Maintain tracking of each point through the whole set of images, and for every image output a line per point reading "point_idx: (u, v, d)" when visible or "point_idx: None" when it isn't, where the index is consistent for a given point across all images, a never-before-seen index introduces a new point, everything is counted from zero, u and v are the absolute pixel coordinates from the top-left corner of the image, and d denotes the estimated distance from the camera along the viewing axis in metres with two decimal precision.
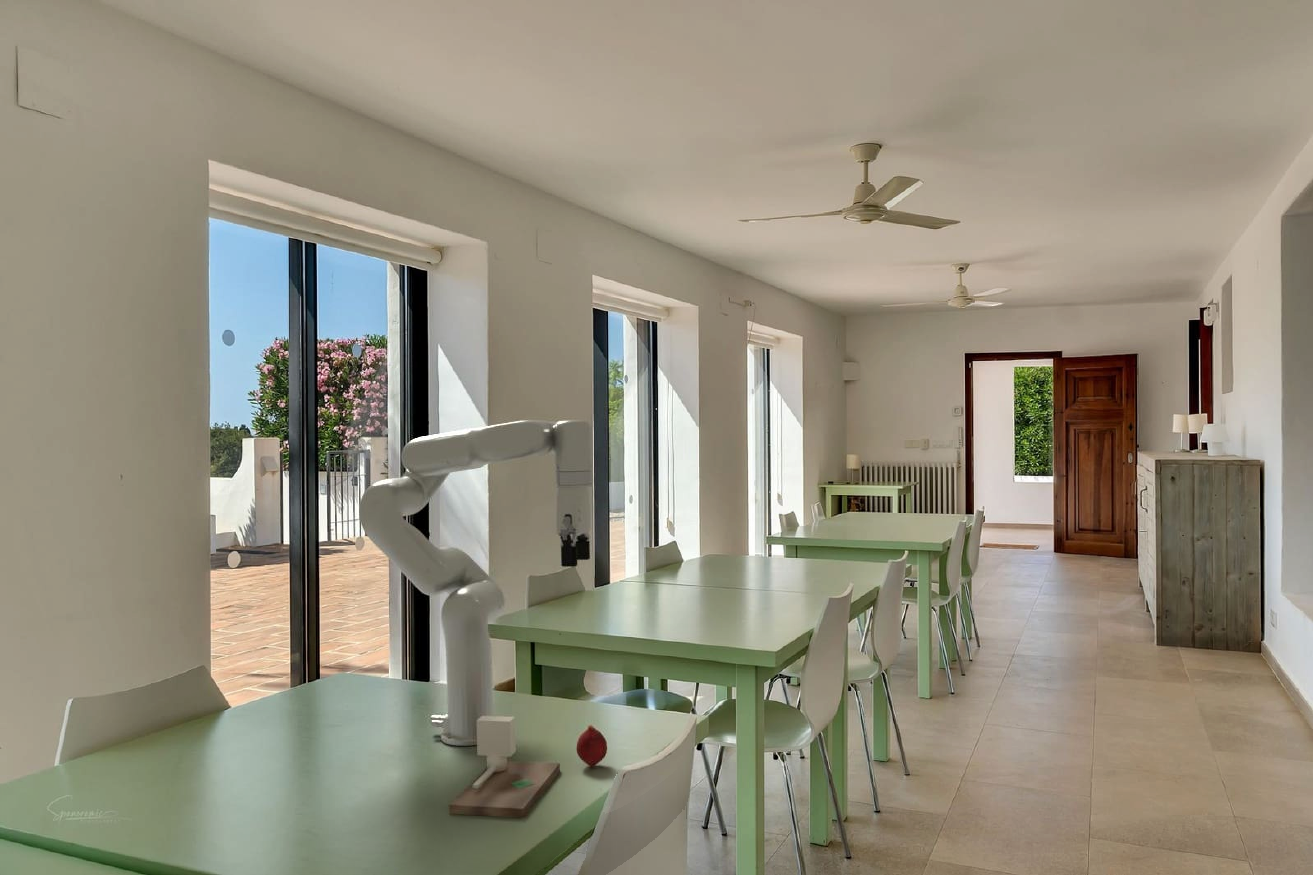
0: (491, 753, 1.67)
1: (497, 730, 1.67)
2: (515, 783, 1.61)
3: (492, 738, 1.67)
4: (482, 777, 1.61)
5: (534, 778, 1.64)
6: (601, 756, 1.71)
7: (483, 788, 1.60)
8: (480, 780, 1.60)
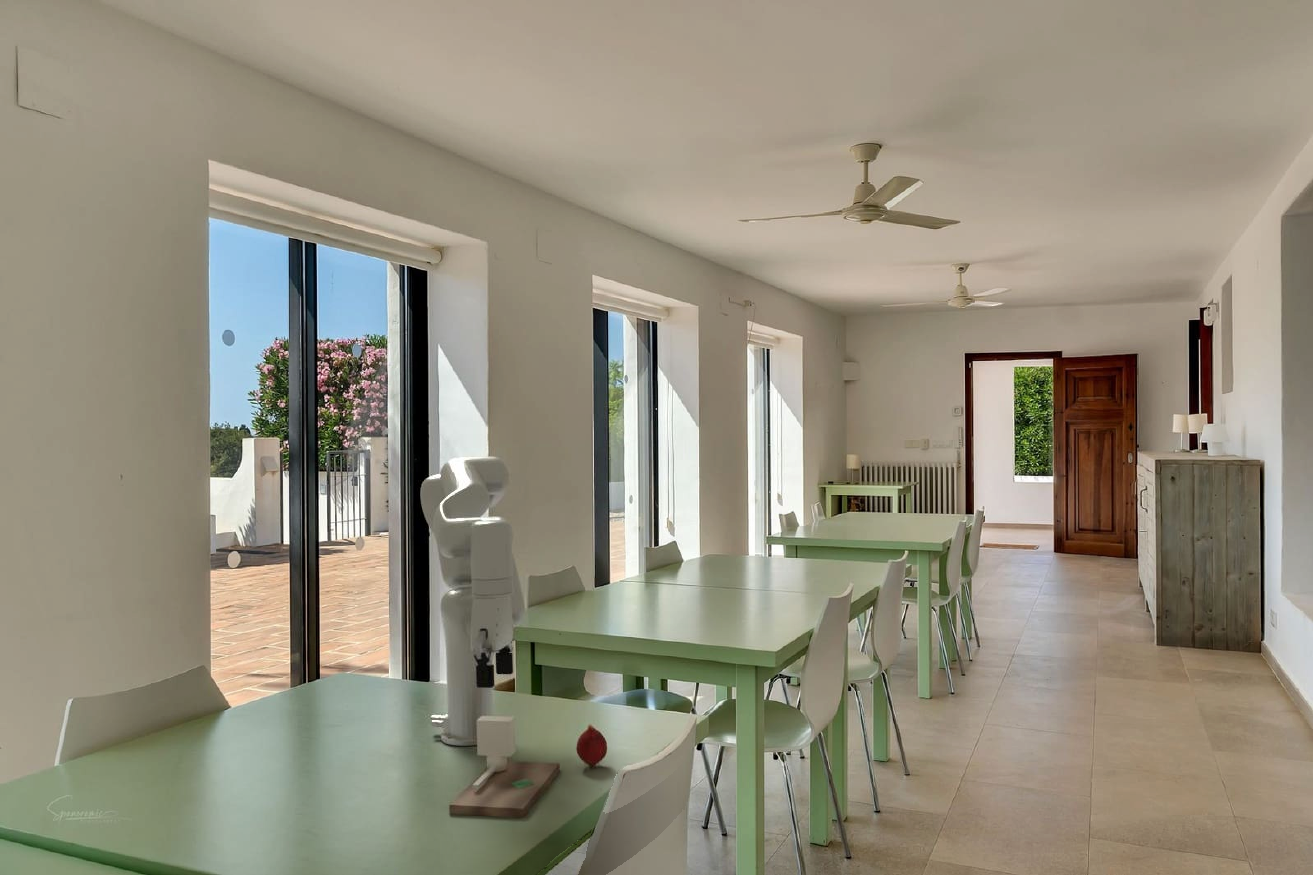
0: (491, 753, 1.67)
1: (497, 730, 1.67)
2: (515, 783, 1.61)
3: (492, 738, 1.67)
4: (482, 777, 1.61)
5: (534, 778, 1.64)
6: (601, 756, 1.71)
7: (483, 788, 1.60)
8: (480, 780, 1.60)
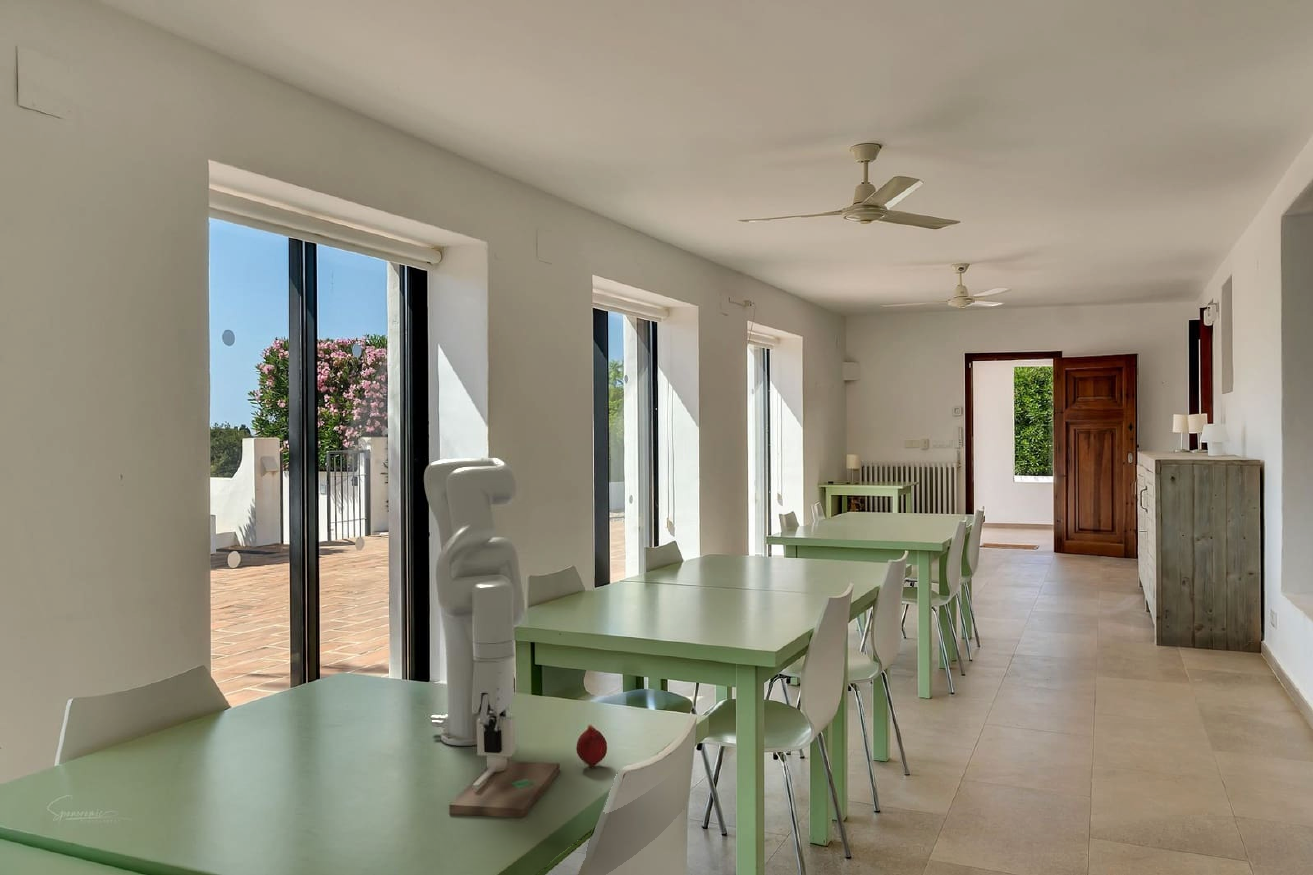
0: (491, 753, 1.67)
1: None
2: (515, 783, 1.61)
3: None
4: (482, 777, 1.61)
5: (534, 778, 1.64)
6: (601, 756, 1.71)
7: (483, 788, 1.60)
8: (480, 780, 1.60)
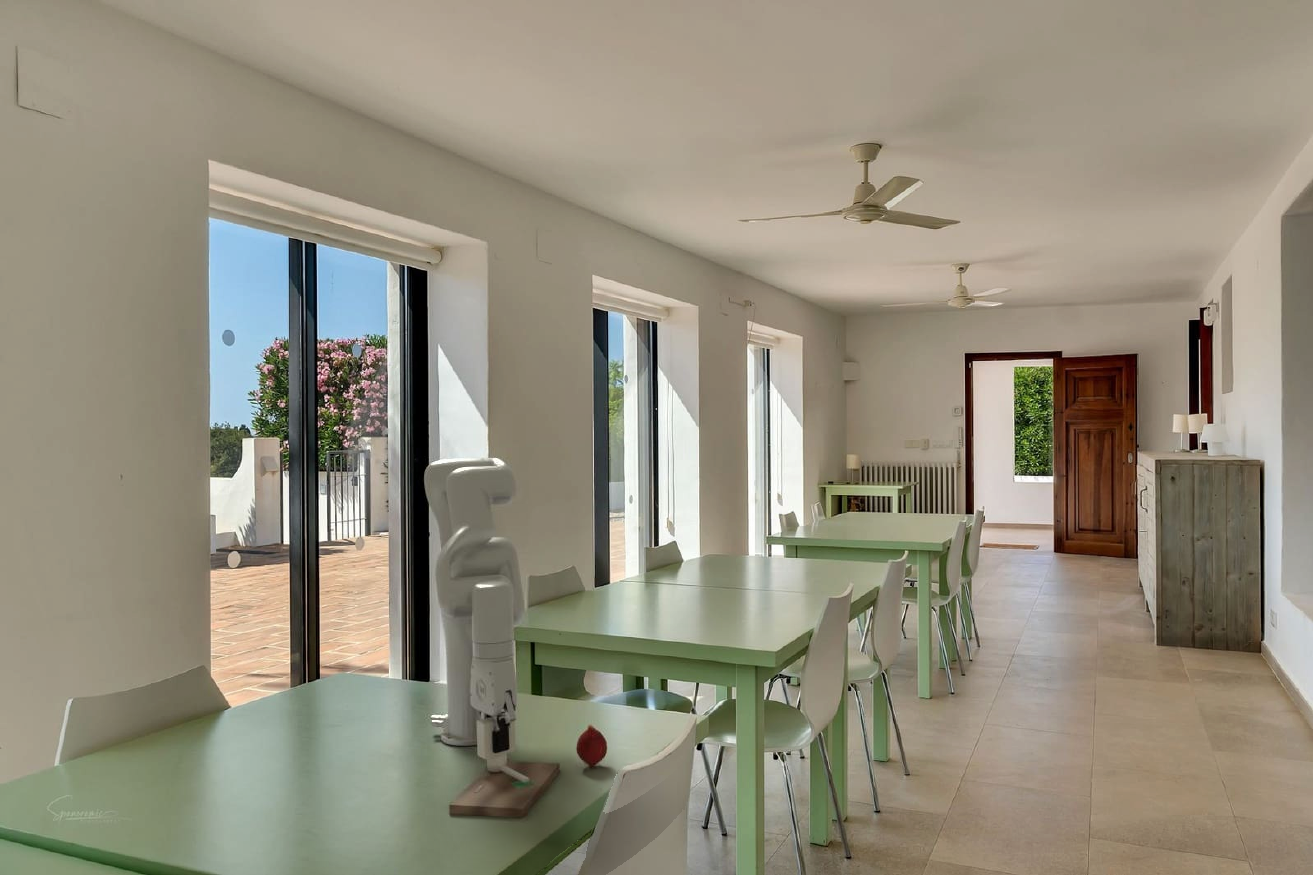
0: (498, 753, 1.67)
1: None
2: (515, 783, 1.61)
3: None
4: (516, 773, 1.63)
5: (534, 778, 1.64)
6: (601, 756, 1.71)
7: (483, 788, 1.60)
8: (521, 775, 1.62)
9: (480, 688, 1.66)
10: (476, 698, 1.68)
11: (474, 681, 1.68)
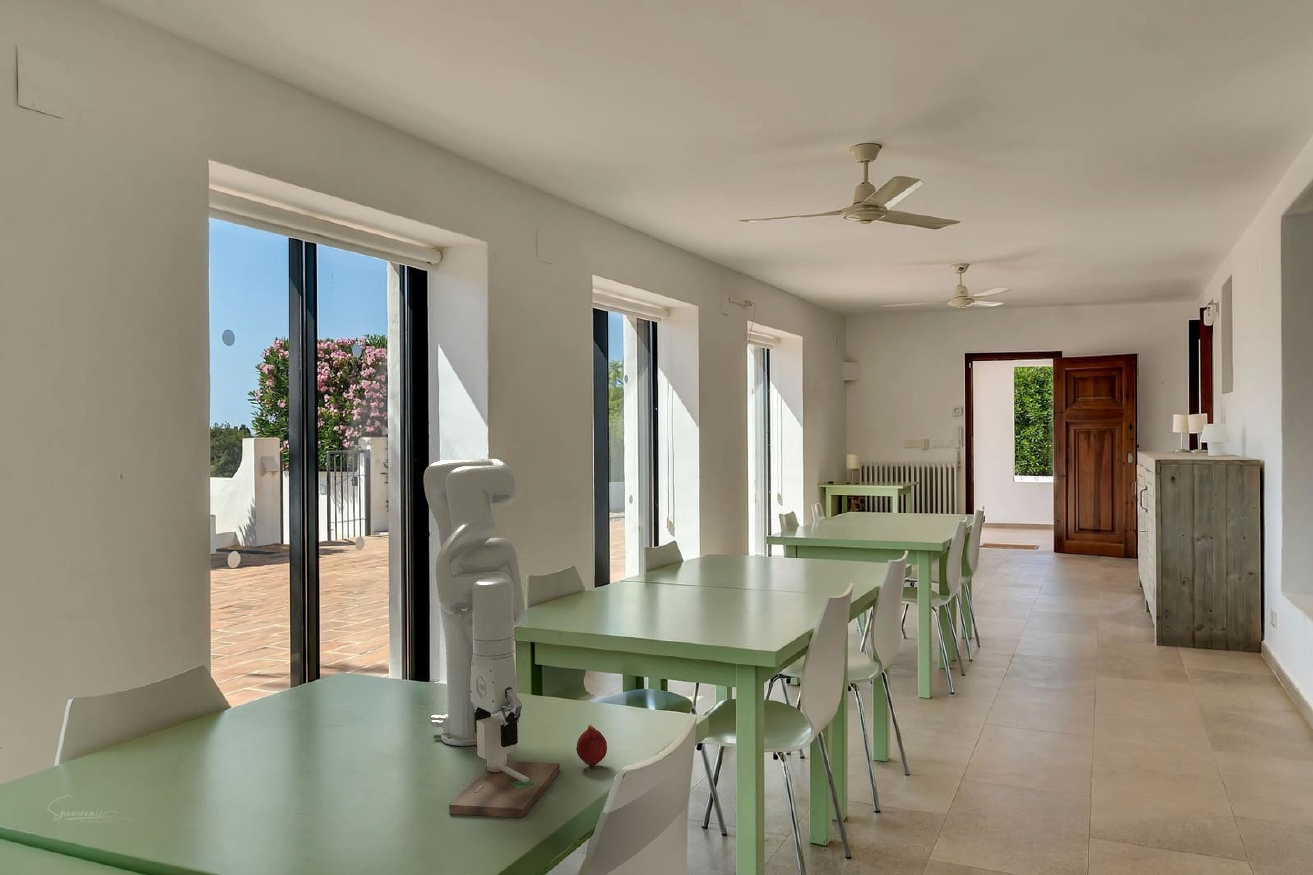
0: (498, 753, 1.67)
1: None
2: (515, 783, 1.61)
3: (498, 737, 1.67)
4: (516, 773, 1.63)
5: (534, 778, 1.64)
6: (601, 756, 1.71)
7: (483, 788, 1.60)
8: (521, 775, 1.62)
9: (480, 685, 1.67)
10: (476, 695, 1.68)
11: (474, 678, 1.68)
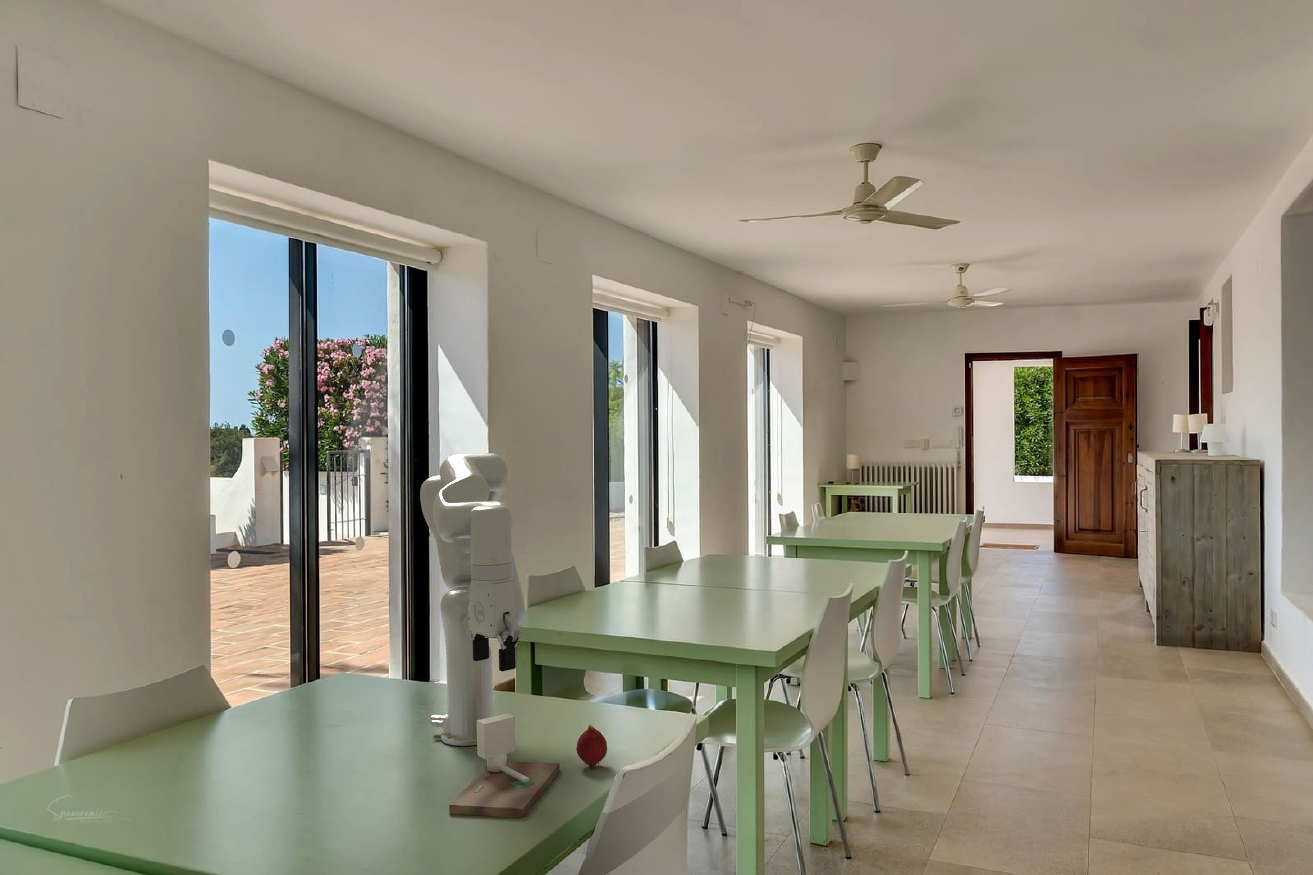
0: (498, 753, 1.67)
1: (503, 728, 1.68)
2: (515, 783, 1.61)
3: (498, 737, 1.67)
4: (516, 773, 1.63)
5: (534, 778, 1.64)
6: (601, 756, 1.71)
7: (483, 788, 1.60)
8: (521, 775, 1.62)
9: (478, 610, 1.67)
10: (474, 621, 1.68)
11: (472, 604, 1.68)
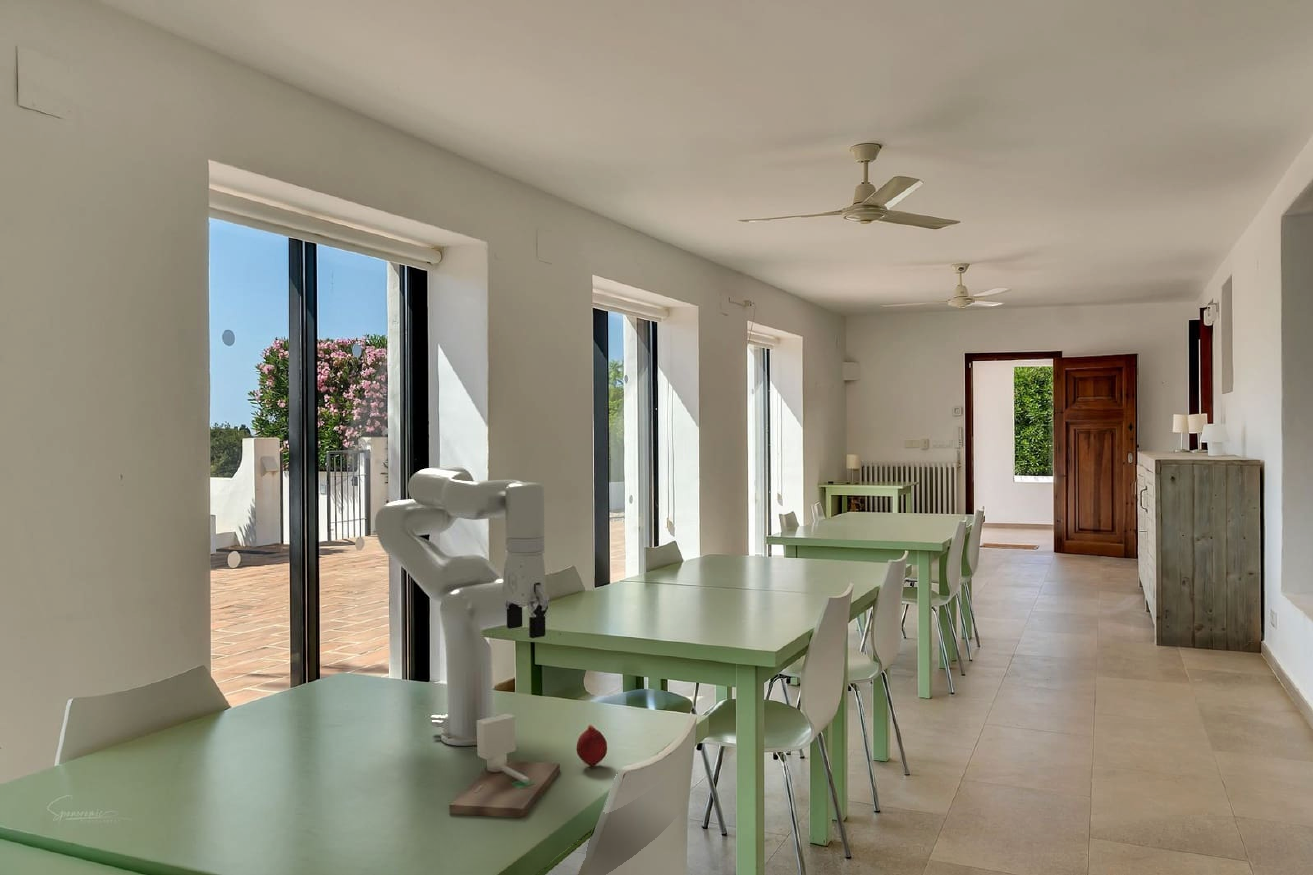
0: (498, 753, 1.67)
1: (503, 728, 1.68)
2: (515, 783, 1.61)
3: (498, 737, 1.67)
4: (516, 773, 1.63)
5: (534, 778, 1.64)
6: (601, 756, 1.71)
7: (483, 788, 1.60)
8: (521, 775, 1.62)
9: (512, 581, 1.78)
10: (508, 590, 1.79)
11: (506, 575, 1.79)
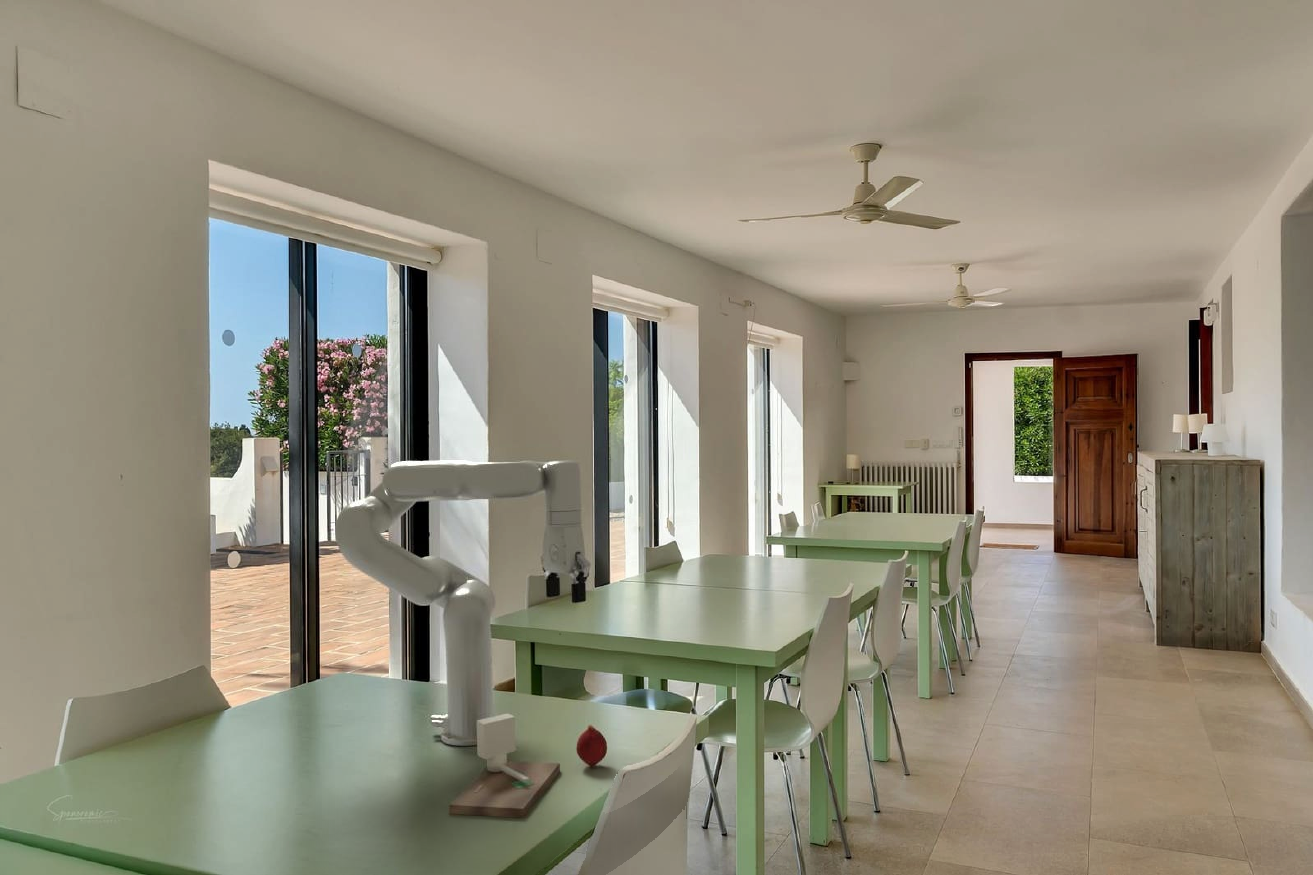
0: (498, 753, 1.67)
1: (503, 728, 1.68)
2: (515, 783, 1.61)
3: (498, 737, 1.67)
4: (516, 773, 1.63)
5: (534, 778, 1.64)
6: (601, 756, 1.71)
7: (483, 788, 1.60)
8: (521, 775, 1.62)
9: (553, 551, 1.92)
10: (549, 561, 1.93)
11: (547, 546, 1.94)
